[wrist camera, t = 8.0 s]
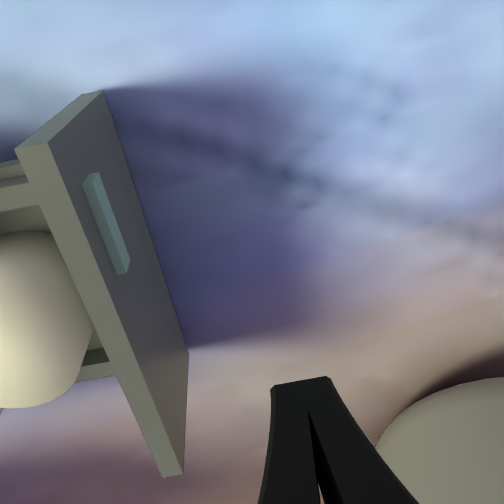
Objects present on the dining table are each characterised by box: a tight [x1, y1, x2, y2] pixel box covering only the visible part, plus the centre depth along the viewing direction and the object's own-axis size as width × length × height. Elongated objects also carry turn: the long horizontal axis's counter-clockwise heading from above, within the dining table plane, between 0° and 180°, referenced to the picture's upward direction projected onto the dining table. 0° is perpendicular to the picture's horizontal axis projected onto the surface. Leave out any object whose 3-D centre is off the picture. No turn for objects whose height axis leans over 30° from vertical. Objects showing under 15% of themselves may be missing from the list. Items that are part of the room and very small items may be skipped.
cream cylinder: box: [0, 231, 94, 408], centre depth 16 cm, size 5×5×4 cm
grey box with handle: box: [0, 90, 189, 478], centre depth 17 cm, size 13×10×7 cm
